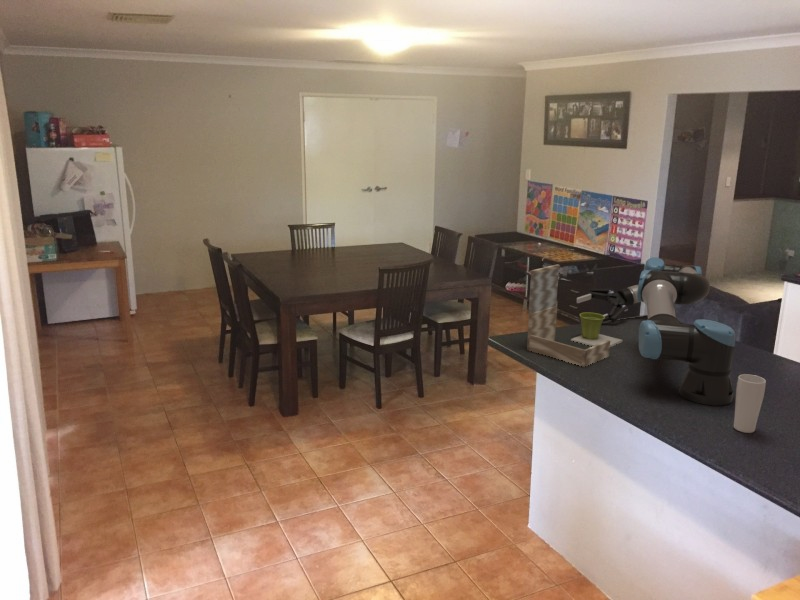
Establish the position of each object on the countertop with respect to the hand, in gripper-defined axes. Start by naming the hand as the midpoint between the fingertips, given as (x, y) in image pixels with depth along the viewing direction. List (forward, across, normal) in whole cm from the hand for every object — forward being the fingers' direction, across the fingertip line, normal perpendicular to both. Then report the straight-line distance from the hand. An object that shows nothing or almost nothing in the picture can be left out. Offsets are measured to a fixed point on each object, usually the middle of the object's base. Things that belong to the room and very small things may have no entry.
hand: (584, 310), depth 279 cm
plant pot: (+10, -22, +9) cm, 26 cm away
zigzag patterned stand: (+25, -33, +18) cm, 45 cm away
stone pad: (+9, -25, +9) cm, 29 cm away
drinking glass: (+6, -96, +40) cm, 104 cm away
